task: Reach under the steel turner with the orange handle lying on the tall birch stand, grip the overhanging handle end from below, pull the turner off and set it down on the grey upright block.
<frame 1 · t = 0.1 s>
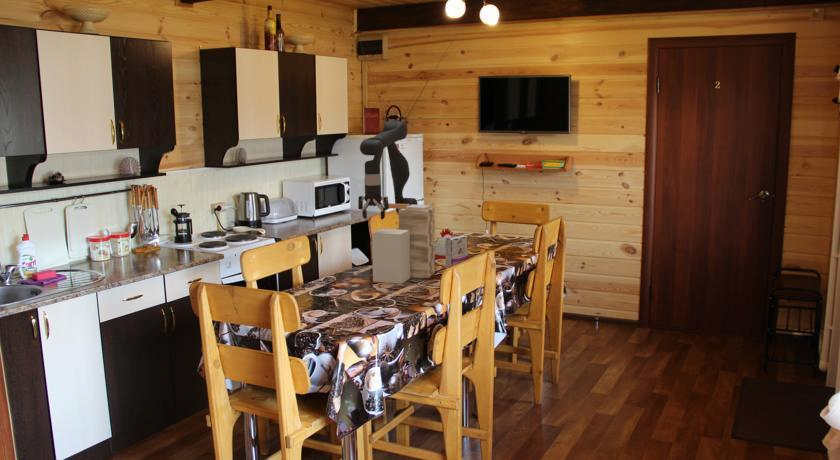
hand: (373, 218, 343), 29 cm above the table, tool pointing down, fingers open, 8 cm apart
tall stand: (417, 274, 358), on the table
candy bar box: (456, 270, 368), on the table
turner: (408, 208, 354), point 32 cm above the table, touching tall stand
grey upright block: (391, 279, 349), on the table
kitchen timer: (446, 256, 402), on the table
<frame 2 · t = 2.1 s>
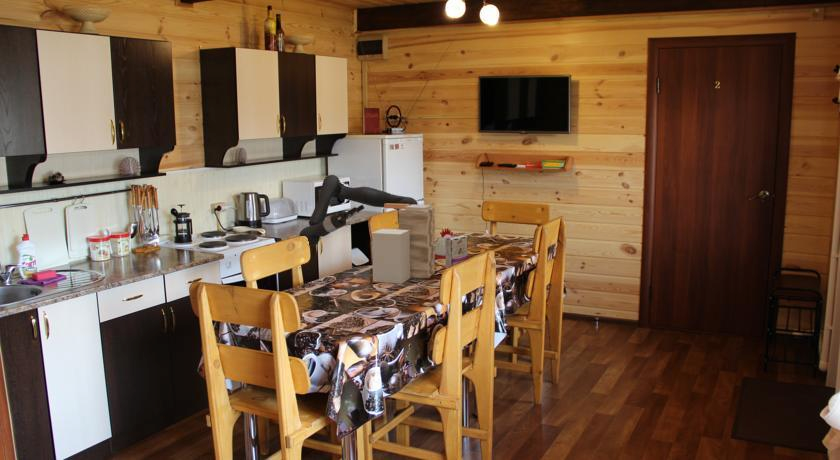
hand: (359, 207, 367), 31 cm above the table, tool pointing upward, fingers open, 8 cm apart
nothing on the table moved.
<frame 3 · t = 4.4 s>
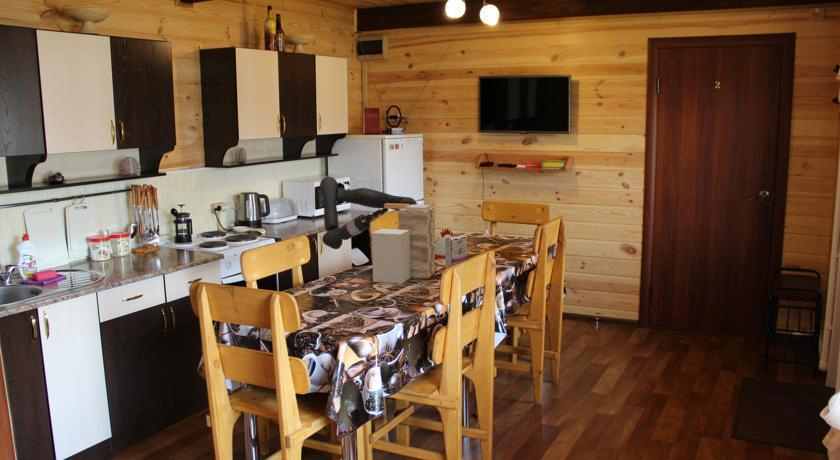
hand: (384, 209, 359), 31 cm above the table, tool pointing upward, fingers open, 8 cm apart
nothing on the table moved.
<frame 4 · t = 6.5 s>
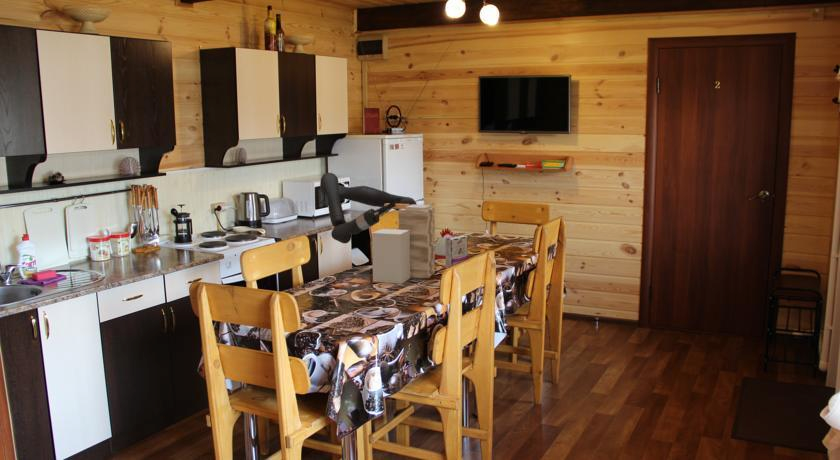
hand: (395, 203, 356), 34 cm above the table, tool pointing upward, fingers closed on turner, 2 cm apart
turner: (408, 208, 354), point 32 cm above the table, touching gripper, tall stand
everything else where it was.
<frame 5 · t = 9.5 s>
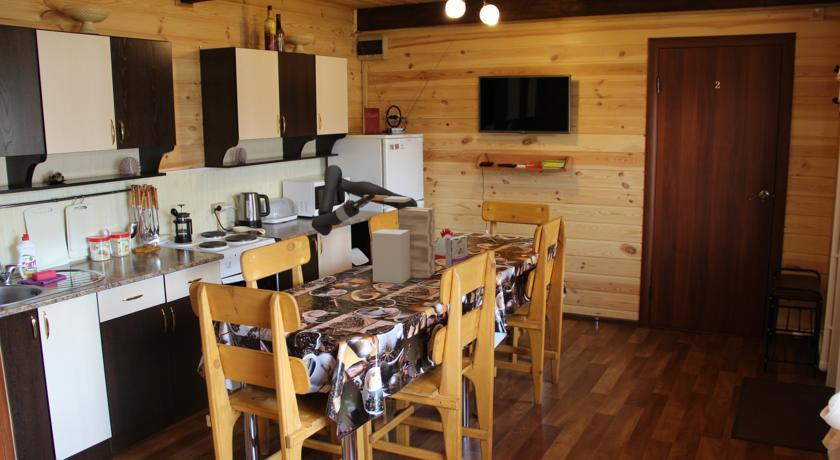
hand: (375, 194, 358), 38 cm above the table, tool pointing upward, fingers closed on turner, 2 cm apart
turner: (387, 200, 356), point 36 cm above the table, touching gripper
everything else where it was.
when the fingers open (26 cm above the table, at t = 12.6 s): turner stays where it is, resting on grey upright block.
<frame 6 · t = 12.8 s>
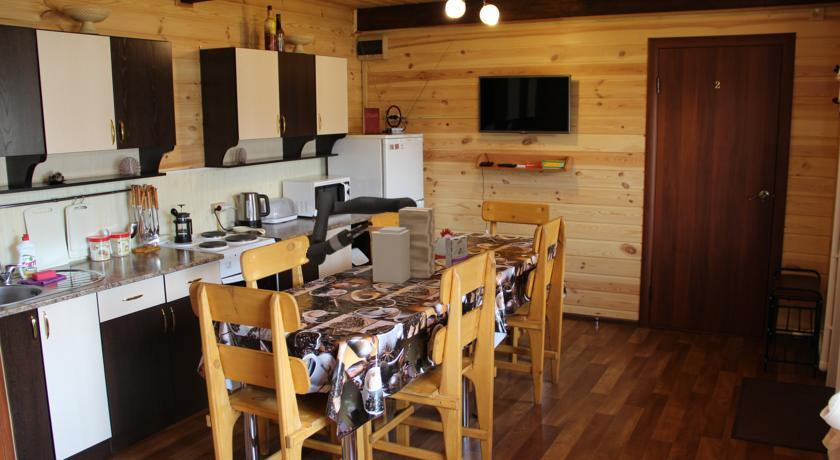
hand: (369, 223, 348), 26 cm above the table, tool pointing upward, fingers open, 4 cm apart
turner: (382, 231, 346), point 23 cm above the table, touching grey upright block
everything else where it was.
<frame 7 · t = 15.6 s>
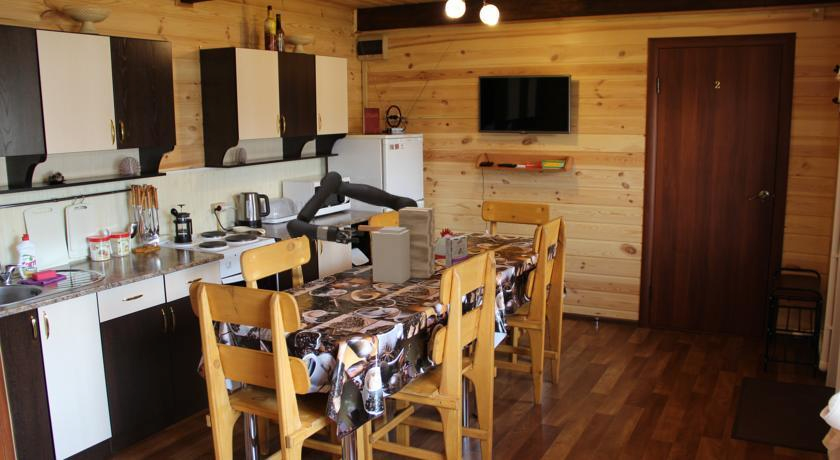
hand: (361, 237, 351), 19 cm above the table, tool horizontal, fingers open, 8 cm apart
nothing on the table moved.
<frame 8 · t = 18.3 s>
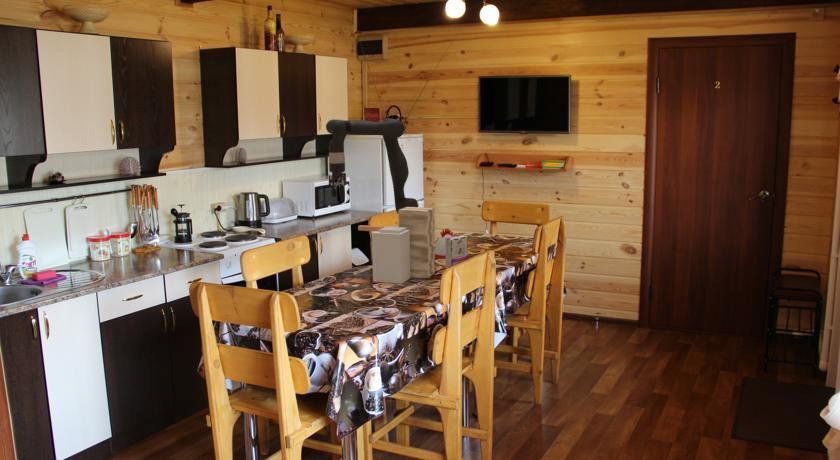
hand: (338, 195, 357), 38 cm above the table, tool pointing down, fingers open, 8 cm apart
nothing on the table moved.
at the end: turner inside the target area on the grey upright block (1.5 cm from its centre), point 23.0 cm above the grey upright block's base; the gripper is holding nothing; turner tilted 0° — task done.
